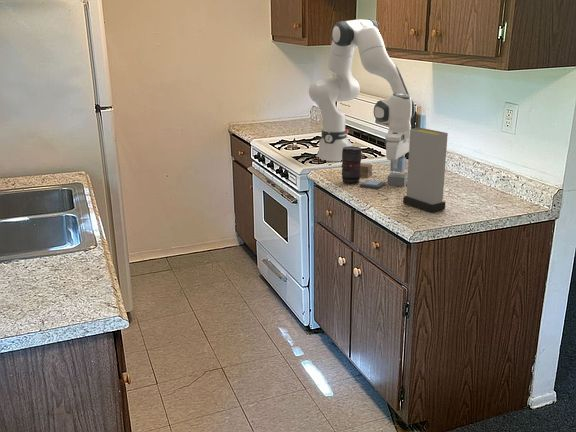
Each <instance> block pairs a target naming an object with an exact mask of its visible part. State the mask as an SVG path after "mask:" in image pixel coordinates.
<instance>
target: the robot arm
mask: <svg viewBox="0 0 576 432" xmlns="http://www.w3.org/2000/svg"><path fill="white" fill-rule="evenodd" d="M377 22H378V21H377V20H375V19H369V18H368V19H360V18H359V19H351V20H342V21H341V20H340V21H337V22H335V24H334V25H333V27H332V29H331V37H332V40H331V43H330V48H329V55H328V60H327V67H328V69H329V70H330V71H331V72H332V73H333V74H335V77H334V78H320V79H317V80H314V81H312V82H311V83H310V85H309V87H308V95H309V98H310V99H311V100H312V101H313V102H314V103H315V104H316V105H317V106H318V108H319V110H320V113H321V118H322V130H321V139H320V140H319V143H318V153H316V156H315V157H316V158H318V157H319V158H318V159H319V160H320V159H321V161H324V160H326V161H325V162H342V161H341V160H342V150H343V147H346V146H353V143H352V142H351V141H350V140H349V139H348V134H349V129H346V114H345V113H344V111H343V110H341V109H339V108H337V106H336V102H337V103H338V102H348V101H352V100H355V99H357V98H358V97H359V95H360V92H361V87H360V83H359V81H358V80H357V79H356V78H355V77H354V76H353V73H352V71H353V70H352V67H353V61H354V55H355V48H356V47H357V48H358V53H359V58H360V61H361V64H362V66H363V68H364V70H366V72H368V73H370V74H372V75H376V76H378V77H381V78H382V79H385V80H386V81H387V82H388V83H389V85H390V88H391V90H392V94H391V95H390V96H389V97H387V98H383V99H380V100H378V101H377V102H376V103H375V104H374V107H373V116H374V118H375V120H376V121H377V122H378V123H381V124H387V123H388V124H389V125H388V131H387V133H386V135H385V137H384V138H385V141H386V144H385V151H386V152H385V153H386V155H385V156H386V159H387V160H388V161H391V160H392V162H393V168H395V169H397V168H398V158H399V157H402V158H406V157H405V155H406V154H407V153H409V142H410V129H412V125H411V123H412V122H411V119H413V118H414V115H415V113H416V104H415V101H414V100H413V99H412V97H411V96H410V94H409V91H408V90H407V89H408V88H407V87H406V84H405V81H404V79H403V77H402V74H401V71H400V69H399V67H398V66H397V64H396V63H395V62H393V60H392V59H391V57H390V56H389V54H388V52H387V50H386V46H385V42H384V39H383V37H382V34H380V32H379V29H378V24H379V23H378V24H377Z"/></svg>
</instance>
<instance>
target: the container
mask: <svg viewBox="0 0 576 432" xmlns="http://www.w3.org/2000/svg"><path fill="white" fill-rule="evenodd" d="M448 134H449V133H448V132H445V131H439V130H434V129H428V128H424V127H416V128H411V129H410V142H409V152H408V161H407V164H408V165H407V183H406V195H404V196H403V200H402V202H403V204H405V205H408V206H411V207H412V208H413V207H414V208H416V209H419V210H423V211H424V212H429V213H436V212H438V211H439V212H440V211H443V210H445V209H446V202H445V201H444V185H445V175H446V174H445V172H446V160H447V159H446V158H447V146H448Z"/></svg>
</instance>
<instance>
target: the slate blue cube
mask: <svg viewBox="0 0 576 432" xmlns="http://www.w3.org/2000/svg"><path fill="white" fill-rule="evenodd" d="M406 166H407V157H404V158H402V157H399V158H398V168H397V169H395V168H393V162H392V160H390V169H389V170H390V172H394V173H403V172H405V171H407V170H406V169H407V167H406Z"/></svg>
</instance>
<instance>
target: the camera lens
mask: <svg viewBox="0 0 576 432" xmlns="http://www.w3.org/2000/svg"><path fill="white" fill-rule="evenodd" d="M362 153H363V152H362V148H361V147H360V146H353V145H352V146H346V147H343V150H342V161H341V178H342V183H343V184H344V185H357V184H360V183H359V182H360V179H361V177H360V173H361V170H360V169H361V162H362Z"/></svg>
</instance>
